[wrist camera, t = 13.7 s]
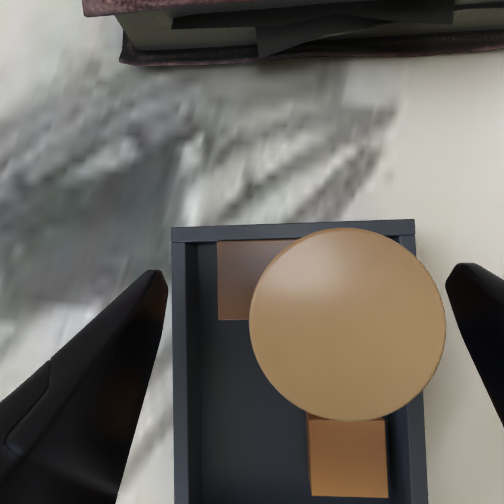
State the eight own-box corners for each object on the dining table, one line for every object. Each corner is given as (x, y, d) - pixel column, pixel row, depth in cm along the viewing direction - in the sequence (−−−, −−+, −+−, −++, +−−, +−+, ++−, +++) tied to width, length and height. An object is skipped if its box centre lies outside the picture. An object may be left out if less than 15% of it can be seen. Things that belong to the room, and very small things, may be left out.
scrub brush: (352, 308, 16) (668, 488, 3) (227, 310, 17) (78, 470, 4) (350, 241, 16) (643, 161, 3) (226, 244, 17) (78, 187, 4)
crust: (378, 477, 16) (388, 498, 14) (308, 475, 16) (311, 496, 15) (375, 406, 16) (385, 420, 15) (305, 406, 16) (308, 419, 15)
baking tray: (403, 525, 16) (433, 585, 13) (191, 516, 17) (174, 571, 14) (389, 226, 17) (414, 218, 14) (187, 233, 18) (170, 227, 15)
